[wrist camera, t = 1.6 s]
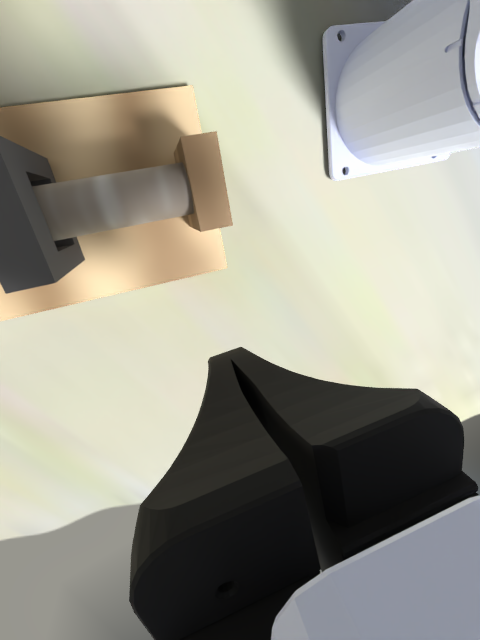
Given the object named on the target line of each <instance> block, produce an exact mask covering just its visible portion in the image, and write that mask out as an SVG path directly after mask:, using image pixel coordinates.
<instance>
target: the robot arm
mask: <svg viewBox="0 0 480 640" xmlns="http://www.w3.org/2000/svg"><path fill="white" fill-rule="evenodd" d="M338 34H340V35H341V38H342V40H341V41H339V40H338V37H337V35H338ZM323 59H324V79H325V99H326V119H327V138H328V158H329V175H330V178H331V179H332V180H334V181H338V180H344V179H349V178H354V177H359V176H365V175H370V174H375V173H380V172H386V171H391V170H396V169H401V168H406V167H412V166H417V165H422V164H427V163H432V162H438V161H443V160H446V159H447V158H448V157H449V156H450V154H451V153H454V152H459V151H464V150H470V149H475V148H480V0H412V1H411V2H410V3H409V4H407V5H406V6H405V7H404V8H402V9H401V10H400V11H399V12H397V13H396V14H395V15H394V16H392V17H391V18H390V19H389V20H387V21H380V22H368V23H357V24H345V25H333V26H330V27H329V28H328V29H327V30H326V31H325V32H324V35H323ZM343 168H345V170H346V173H345V174H343V173H342V169H343ZM208 365H209V370H208V379H207V385H206V390H205V394H204V398H203V401H202V405H201V408H200V411H199V414H198V416H197V419H196V421H195V424H194V426H193V428H192V430H191V432H190V434H189V437H188V439H187V441H186V442H185V444H184V446H183V448H182V450H181V451H180V453H179V455H178V456H177V458H176V459H175V461H174V462H173V464H172V466H171V467H170V469H169V470H168V471H167V473H166V474H165V475H164V477H163V478H162V479H161V481H160V482H159V483H158V484H157V485H156V487H155V488H154V489H153V490H152V492H151V493H150V494H149V495H148V497H147V498H146V499H145V500H144V501H143V503H142V504H141V505H140V509H139V513H138V518H137V522H136V527H135V534H134V539H133V544H132V553H131V572H130V597H129V601H130V603H131V606H132V608H133V610H134V613H135V614H136V615H137V617H138V618H139V619H140V621H141V622H142V623H143V625H144V626H145V628H146V629H147V630H148V632H149V633H150V634H151V636H152V637H153V638H154V640H480V495H478V494H477V493H476V491H478V486H477V484H476V482H475V481H473V480H472V479H471V478H470V477H469V476H467V475H466V474H465V473H464V472H463V471H462V460H463V449H464V432H463V426H462V424H461V422H460V420H459V418H458V417H457V416H456V415H455V414H454V413H452V412H451V411H450V410H448V409H447V408H445V407H444V406H443V405H441V404H440V403H438V402H437V401H435V400H434V399H432V398H431V397H429V396H428V395H426V394H425V393H423V392H421V391H420V390H418V389H402V388H373V387H362V386H353V385H345V384H339V383H334V382H328V381H323V380H319V379H315V378H311V377H308V376H304V375H301V374H298V373H295V372H292V371H289V370H287V369H284V368H282V367H279V366H277V365H275V364H272V363H270V362H268V361H266V360H264V359H262V358H260V357H259V356H257V355H255V354H253V353H251V352H250V351H248V350H246V349H244V348H242V347H239V348H236V349H233V350H230V351H228V352H225V353H222V354H219V355H216V356H213V357H210V359H209V360H208ZM320 569H321V570H322V573H320Z"/></svg>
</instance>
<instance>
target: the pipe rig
mask: <svg viewBox="0 0 480 640" xmlns="http://www.w3.org/2000/svg"><path fill="white" fill-rule="evenodd" d="M0 136H2V137H4V138H6V139H8V140H10V141H12V142H14V143H16V144H18V145H20V146H23V147H25V148H27V149H29V150H31V151H33V152H35V153H37V154H39V155H41V156H43V157H45V158H47V159H48V162H49V164H50V167H51V170H52V172H53V175H54V178H55V180H56V183H51V184H45V185H38V186H32V188H33V191H34V193H35V196H36V198H37V201H38V203H39V206H40V208H41V211H42V213H43V215H44V218H45V220H46V223H47V225H48V228H49V230H50V233H51V235H52V238H53V240H54V241H57V240H62V239H67V238H72V237H77V239H78V242H79V245H80V247H81V250H82V253H83V255H84V258H85V260H84V261H83V262H82V263H81V264H79V265H78V266H77V267H75V268H74V269H73V270H72V271H70V272H69V273H68V274H66V275H65V276H64V277H63V278H61V279H60V280H59V281H58V282H56V283H53V284H49V285H44V286H40V287H35V288H30V289H26V290H21V291H17V292H12V293H8V294H6V293H5V291H4V289H3V287H2V285H1V283H0V321H4V320H8V319H12V318H16V317H21V316H25V315H29V314H33V313H38V312H42V311H46V310H51V309H55V308H59V307H63V306H68V305H72V304H76V303H80V302H85V301H89V300H93V299H98V298H102V297H106V296H110V295H115V294H119V293H123V292H127V291H132V290H136V289H140V288H145V287H149V286H153V285H157V284H162V283H166V282H170V281H174V280H179V279H183V278H187V277H192V276H196V275H200V274H204V273H209V272H213V271H217V270H221V269H226V268H227V263H226V257H225V252H224V247H223V242H222V236H221V231H220V228H222V227H227V226H232V225H233V223H232V218H231V212H230V206H229V200H228V195H227V189H226V183H225V177H224V172H223V166H222V160H221V154H220V149H219V143H218V137H217V131H216V132H209V133H202V131H201V126H200V121H199V116H198V110H197V105H196V100H195V95H194V89H193V85H190V86H182V87H173V88H164V89H156V90H147V91H138V92H129V93H121V94H112V95H103V96H94V97H86V98H77V99H68V100H59V101H51V102H42V103H33V104H25V105H16V106H7V107H0Z"/></svg>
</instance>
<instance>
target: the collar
mask: <svg viewBox="0 0 480 640" xmlns="http://www.w3.org/2000/svg"><path fill="white" fill-rule="evenodd" d="M51 183H56V180H55V178H54V175H53V172H52V170H51V167H50V164H49V162H48V159H47V158H45V157H43V156H41V155H39V154H37V153H35V152H33V151H31V150H29V149H27V148H25V147H23V146H20V145H18V144H16V143H14V142H12V141H10V140H8V139H6V138H4V137H2V136H0V283H1V285H2V287H3V289H4V291H5V293H6V294H8V293H12V292H17V291H21V290H26V289H30V288H35V287H40V286H44V285H49V284H53V283H56V282H58V281H59V280H60V279H61V278H63V277H64V276H65V275H66V274H68V273H69V272H70V271H72V270H73V269H74V268H75V267H77V266H78V265H79V264H81V263H82V262H83V261H84V260H85V258H84V255H83V253H82V250H81V247H80V245H79V242H78V239H77V237H72V238H67V239H62V240H57V241H54V240H53V238H52V235H51V233H50V230H49V228H48V225H47V223H46V220H45V218H44V215H43V213H42V211H41V208H40V206H39V203H38V201H37V198H36V196H35V193H34V191H33V188H32V186H38V185H45V184H51Z"/></svg>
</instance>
